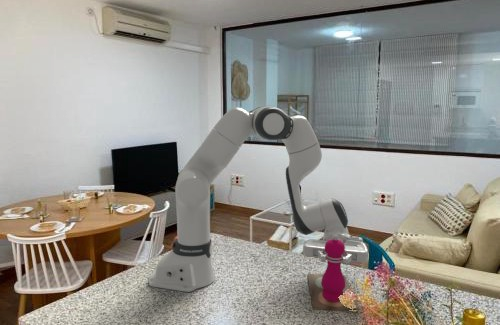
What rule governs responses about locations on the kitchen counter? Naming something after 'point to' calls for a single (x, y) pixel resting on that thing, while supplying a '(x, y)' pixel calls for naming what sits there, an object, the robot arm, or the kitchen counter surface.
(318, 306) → the colour board
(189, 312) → the kitchen counter surface
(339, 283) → the pepper mill
